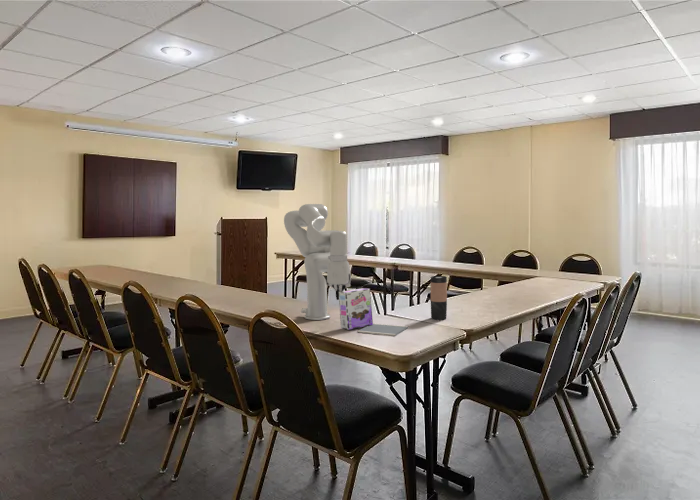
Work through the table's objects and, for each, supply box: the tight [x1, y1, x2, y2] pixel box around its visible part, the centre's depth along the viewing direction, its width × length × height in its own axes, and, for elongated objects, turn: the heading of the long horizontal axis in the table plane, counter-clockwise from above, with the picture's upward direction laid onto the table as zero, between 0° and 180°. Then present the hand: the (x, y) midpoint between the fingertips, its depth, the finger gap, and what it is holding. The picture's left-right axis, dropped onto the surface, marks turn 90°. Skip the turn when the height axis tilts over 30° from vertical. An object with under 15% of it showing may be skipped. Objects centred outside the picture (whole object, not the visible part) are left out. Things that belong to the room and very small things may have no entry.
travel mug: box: [430, 275, 448, 321], centre depth 237 cm, size 8×8×20 cm
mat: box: [357, 322, 409, 337], centre depth 216 cm, size 17×16×1 cm
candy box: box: [338, 288, 374, 330], centre depth 221 cm, size 14×6×16 cm, turn 126°
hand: (339, 299), depth 224 cm, fingers closed
